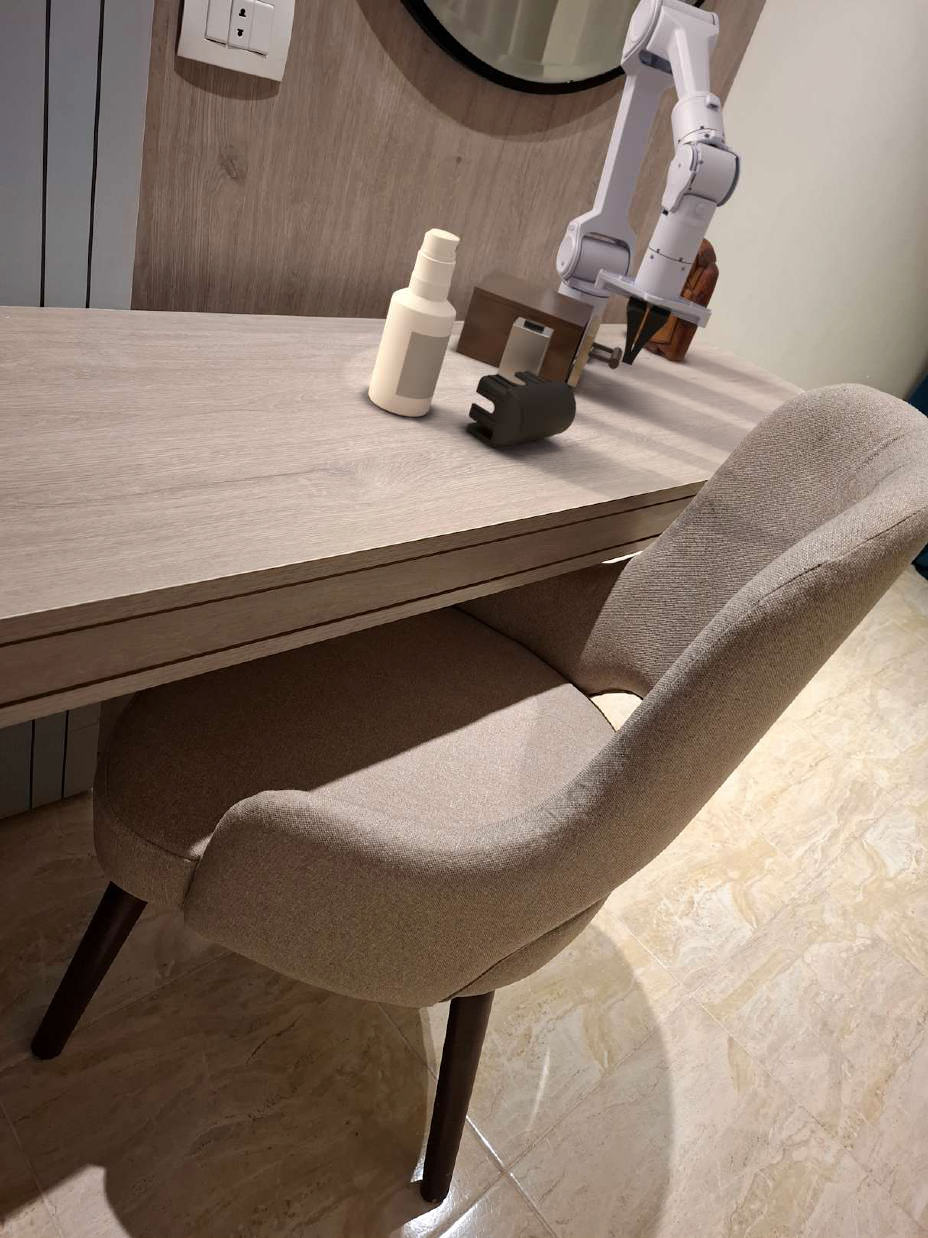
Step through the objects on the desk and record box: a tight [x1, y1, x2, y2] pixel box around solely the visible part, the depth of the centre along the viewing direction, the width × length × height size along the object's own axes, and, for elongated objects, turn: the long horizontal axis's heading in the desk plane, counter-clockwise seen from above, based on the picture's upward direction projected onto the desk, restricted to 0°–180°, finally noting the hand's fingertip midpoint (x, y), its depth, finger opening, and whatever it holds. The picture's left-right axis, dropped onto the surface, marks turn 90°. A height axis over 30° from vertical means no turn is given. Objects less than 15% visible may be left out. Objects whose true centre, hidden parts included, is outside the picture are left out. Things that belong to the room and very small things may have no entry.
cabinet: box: [455, 268, 594, 383], centre depth 121 cm, size 15×13×9 cm
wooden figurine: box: [633, 237, 720, 361], centre depth 144 cm, size 12×6×18 cm, turn 49°
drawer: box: [566, 315, 624, 388], centre depth 120 cm, size 18×11×7 cm, turn 76°
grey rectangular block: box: [496, 317, 554, 385], centre depth 109 cm, size 4×4×9 cm
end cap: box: [466, 370, 577, 449], centre depth 97 cm, size 10×7×7 cm
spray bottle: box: [368, 228, 461, 417], centre depth 93 cm, size 7×7×18 cm
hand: (627, 361), depth 115 cm, fingers closed
